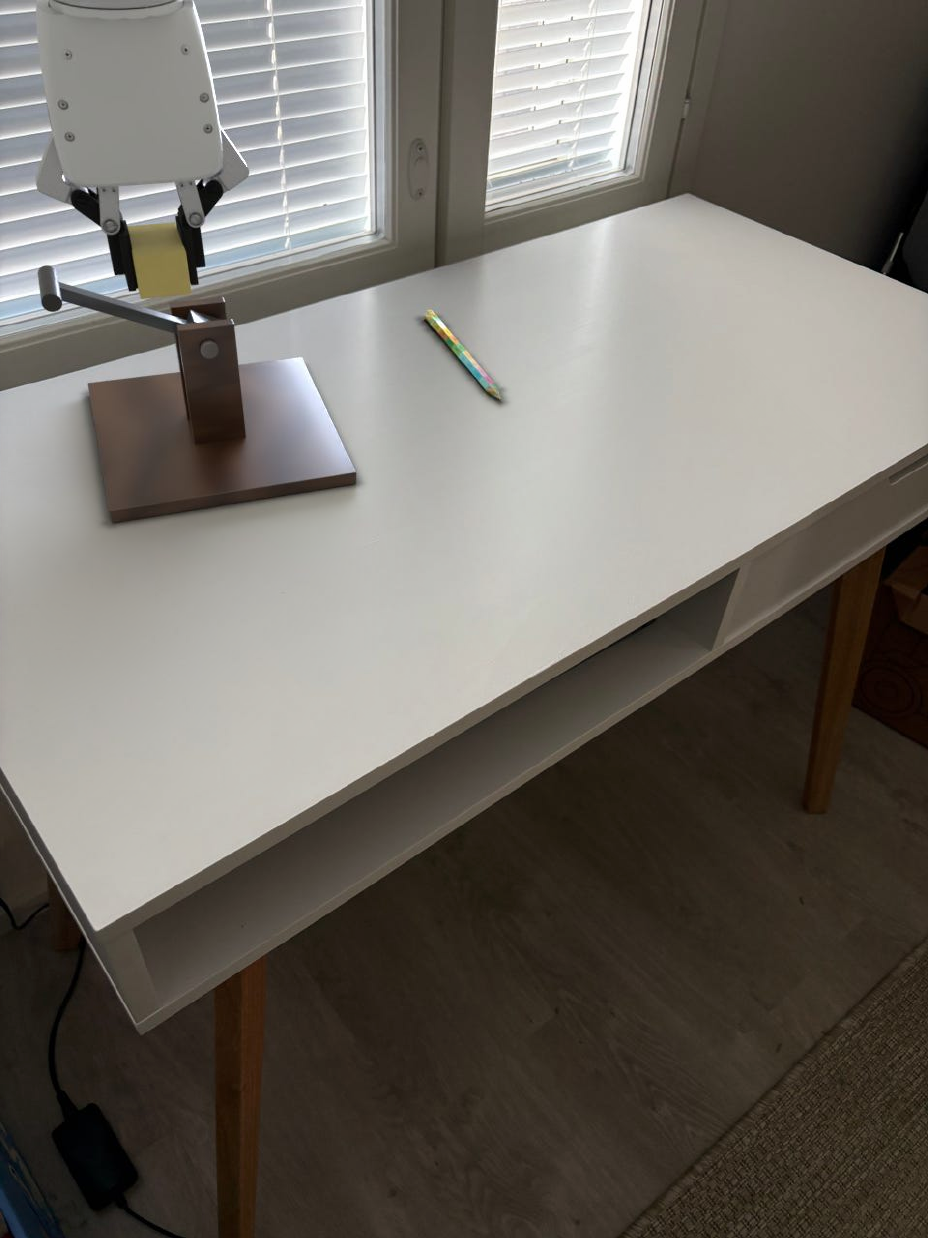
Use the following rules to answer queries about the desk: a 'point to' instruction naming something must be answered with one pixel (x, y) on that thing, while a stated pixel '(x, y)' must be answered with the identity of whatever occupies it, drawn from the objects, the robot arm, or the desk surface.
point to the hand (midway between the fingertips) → (161, 277)
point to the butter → (159, 260)
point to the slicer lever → (107, 303)
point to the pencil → (462, 354)
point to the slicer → (213, 427)
